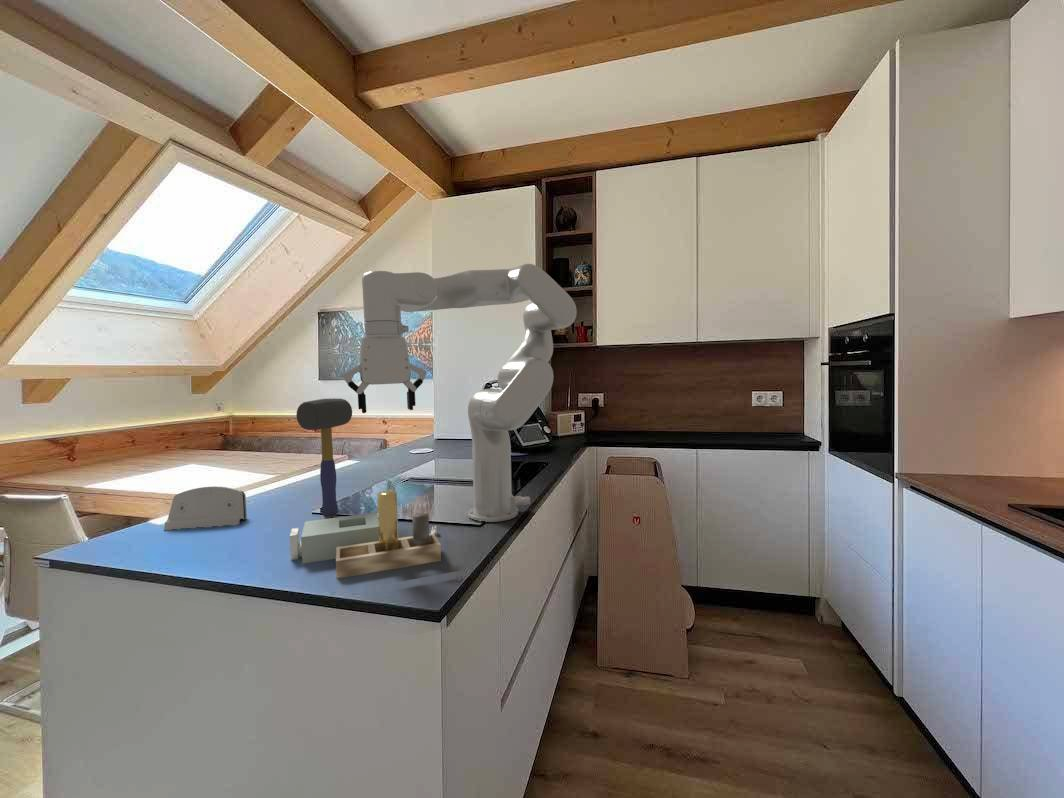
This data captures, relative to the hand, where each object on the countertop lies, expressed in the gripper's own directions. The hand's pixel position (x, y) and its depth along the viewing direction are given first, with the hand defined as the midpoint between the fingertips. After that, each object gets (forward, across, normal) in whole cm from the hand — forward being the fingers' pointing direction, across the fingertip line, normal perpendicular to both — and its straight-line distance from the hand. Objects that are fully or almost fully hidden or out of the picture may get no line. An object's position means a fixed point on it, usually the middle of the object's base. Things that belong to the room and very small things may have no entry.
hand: (387, 411), depth 102 cm
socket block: (+28, +11, +5) cm, 30 cm away
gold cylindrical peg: (+27, +3, +16) cm, 31 cm away
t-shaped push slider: (+27, +16, +5) cm, 32 cm away
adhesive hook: (+29, -6, +5) cm, 30 cm away
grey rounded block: (+28, +40, -32) cm, 58 cm away
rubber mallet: (+28, +13, -22) cm, 38 cm away
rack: (+28, +3, +16) cm, 32 cm away
